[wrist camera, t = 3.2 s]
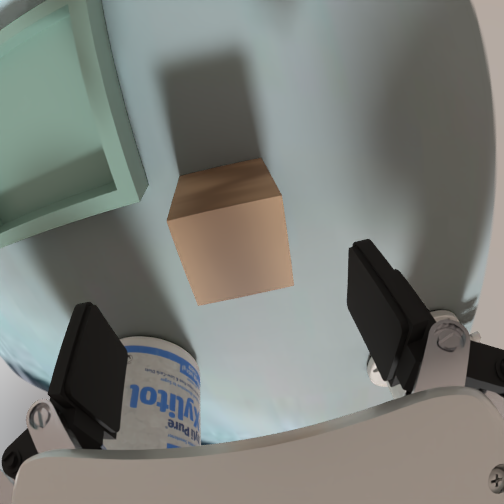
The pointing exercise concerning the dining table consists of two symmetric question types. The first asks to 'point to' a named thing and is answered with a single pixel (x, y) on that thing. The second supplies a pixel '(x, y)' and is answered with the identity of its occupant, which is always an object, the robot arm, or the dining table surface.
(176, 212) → the walnut block
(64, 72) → the rest tray
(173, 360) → the supplement tub
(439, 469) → the robot arm
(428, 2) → the dining table surface
